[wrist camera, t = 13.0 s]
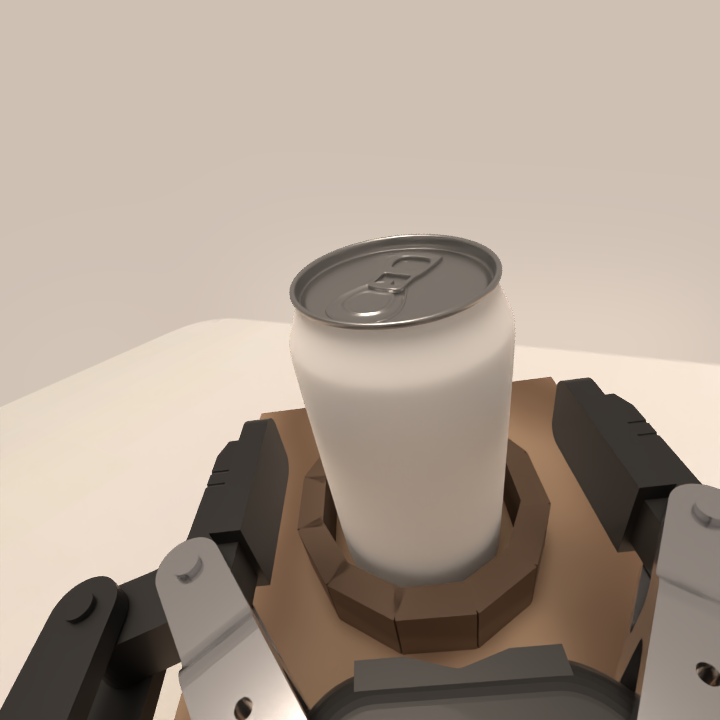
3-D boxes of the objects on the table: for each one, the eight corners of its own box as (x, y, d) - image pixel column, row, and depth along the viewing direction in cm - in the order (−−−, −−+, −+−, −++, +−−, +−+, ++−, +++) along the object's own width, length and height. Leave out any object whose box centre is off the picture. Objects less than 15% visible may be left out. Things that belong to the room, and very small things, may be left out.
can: (317, 559, 17) (221, 309, 11) (391, 452, 22) (356, 225, 15) (465, 644, 14) (464, 362, 7) (518, 499, 18) (549, 233, 11)
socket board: (159, 860, 12) (88, 837, 10) (268, 430, 27) (249, 382, 25) (819, 836, 11) (910, 803, 8) (548, 395, 26) (555, 341, 23)
